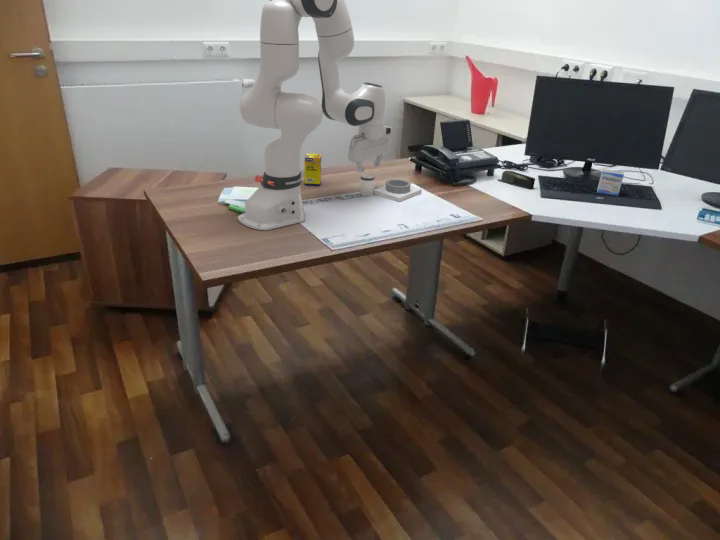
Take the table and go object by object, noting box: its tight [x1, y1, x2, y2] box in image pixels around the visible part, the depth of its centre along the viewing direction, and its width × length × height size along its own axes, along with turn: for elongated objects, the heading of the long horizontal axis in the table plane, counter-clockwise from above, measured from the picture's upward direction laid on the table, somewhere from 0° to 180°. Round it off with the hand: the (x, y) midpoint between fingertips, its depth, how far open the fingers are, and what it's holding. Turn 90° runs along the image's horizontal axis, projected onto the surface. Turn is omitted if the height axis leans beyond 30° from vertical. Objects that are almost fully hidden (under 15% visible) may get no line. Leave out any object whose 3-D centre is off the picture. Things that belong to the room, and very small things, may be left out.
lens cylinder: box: [359, 173, 375, 197], centre depth 203 cm, size 5×5×7 cm
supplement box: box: [304, 153, 322, 187], centre depth 210 cm, size 6×6×11 cm
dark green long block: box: [497, 170, 536, 190], centre depth 222 cm, size 5×3×15 cm
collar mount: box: [373, 178, 423, 203], centre depth 206 cm, size 14×12×4 cm
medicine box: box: [596, 169, 625, 197], centre depth 216 cm, size 8×4×9 cm, turn 68°
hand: (369, 168), depth 201 cm, fingers open, 8 cm apart
